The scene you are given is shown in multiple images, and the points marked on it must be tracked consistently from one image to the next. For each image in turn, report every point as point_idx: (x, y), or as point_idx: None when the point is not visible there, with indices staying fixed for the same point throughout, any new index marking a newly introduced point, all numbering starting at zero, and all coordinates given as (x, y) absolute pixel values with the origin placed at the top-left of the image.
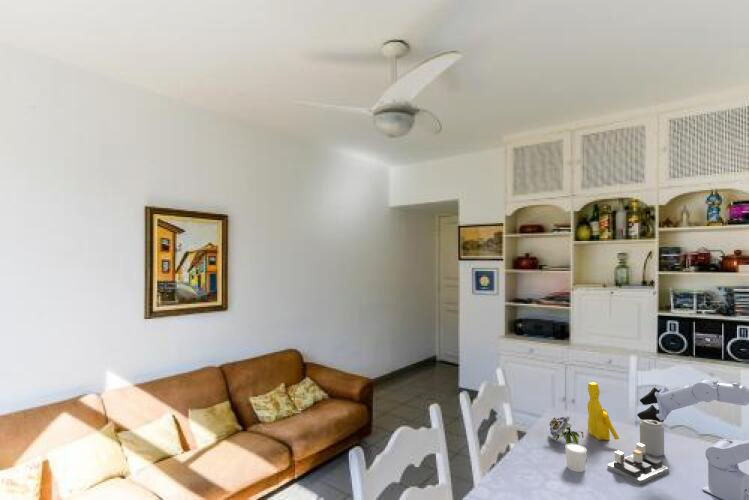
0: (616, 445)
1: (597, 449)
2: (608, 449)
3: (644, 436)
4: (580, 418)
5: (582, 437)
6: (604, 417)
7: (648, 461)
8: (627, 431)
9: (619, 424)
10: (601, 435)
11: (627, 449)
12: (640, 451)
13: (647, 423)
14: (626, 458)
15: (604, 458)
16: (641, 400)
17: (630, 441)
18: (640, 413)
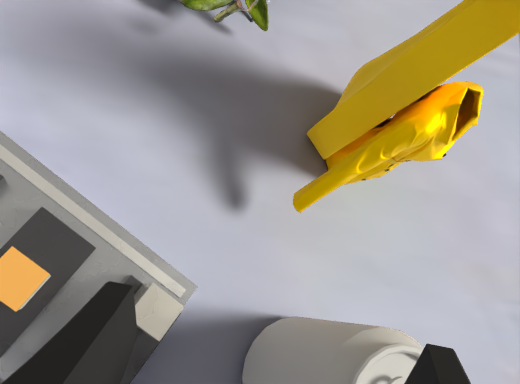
0: (291, 208)
1: (205, 110)
2: (229, 163)
3: (297, 345)
4: (486, 93)
5: (216, 16)
6: (398, 122)
7: None
8: (457, 276)
9: (507, 249)
10: (316, 134)
11: (269, 255)
12: (22, 298)
13: (350, 381)
14: (45, 218)
15: (111, 126)
16: (429, 371)
17: (363, 279)
18: (68, 324)
